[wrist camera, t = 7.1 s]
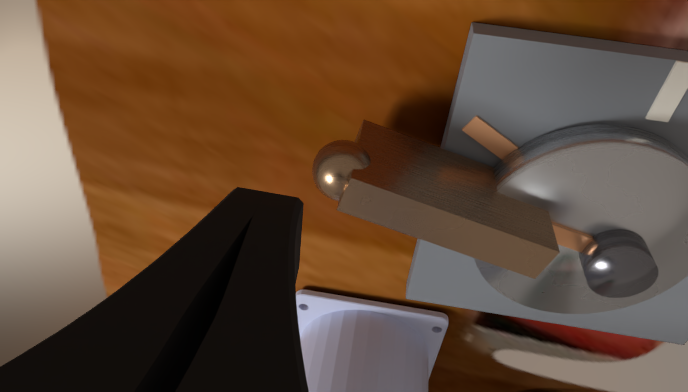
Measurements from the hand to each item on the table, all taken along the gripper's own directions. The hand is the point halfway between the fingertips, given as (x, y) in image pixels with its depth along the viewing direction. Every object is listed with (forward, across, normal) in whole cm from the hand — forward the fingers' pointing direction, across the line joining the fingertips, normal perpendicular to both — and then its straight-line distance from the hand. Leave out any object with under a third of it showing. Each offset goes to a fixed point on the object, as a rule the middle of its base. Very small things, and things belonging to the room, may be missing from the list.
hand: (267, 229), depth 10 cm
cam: (+8, -7, +4) cm, 11 cm away
